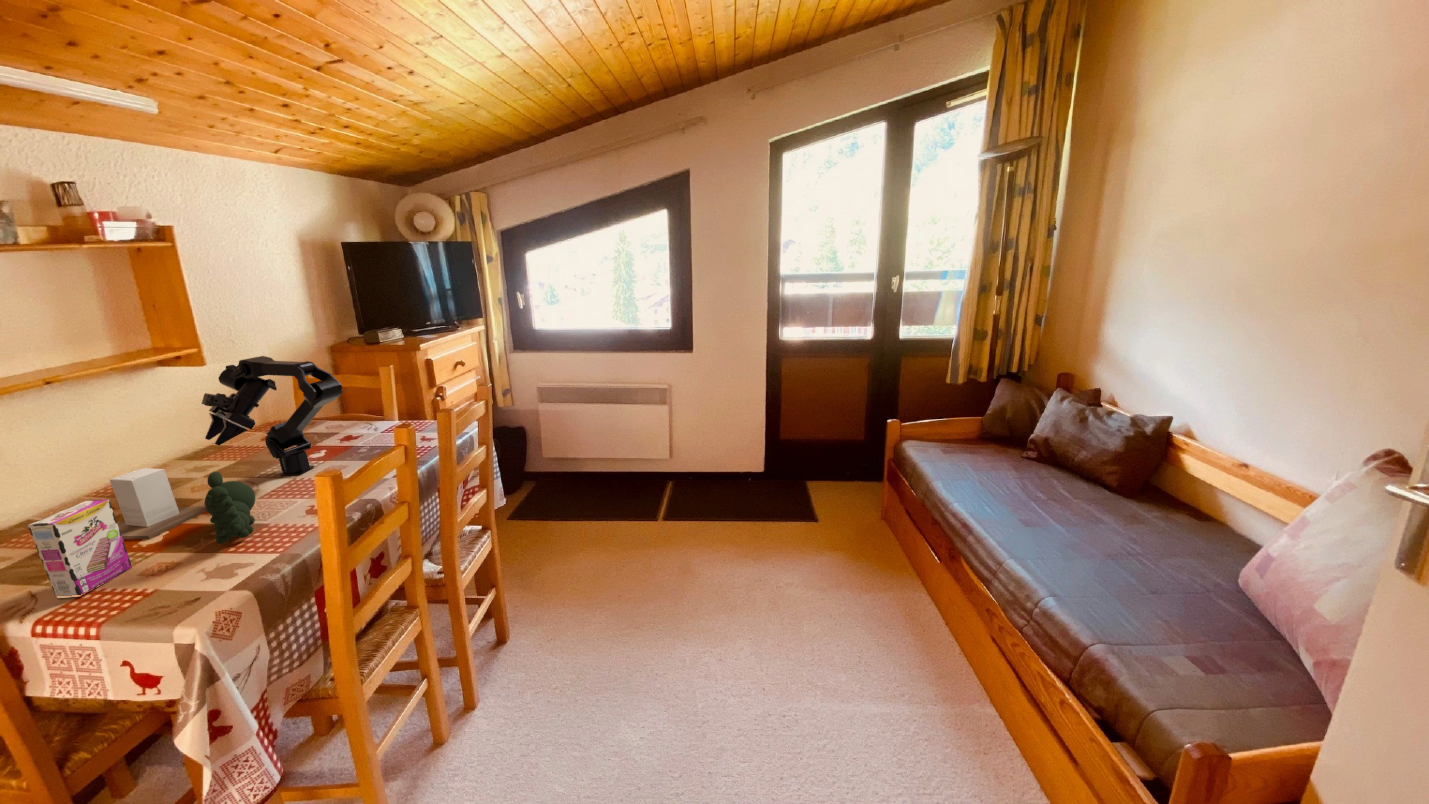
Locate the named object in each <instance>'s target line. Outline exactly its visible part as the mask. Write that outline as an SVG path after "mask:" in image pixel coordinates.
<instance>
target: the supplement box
mask: <svg viewBox="0 0 1429 804" xmlns="http://www.w3.org/2000/svg"><path fill="white" fill-rule="evenodd" d="M109 482H110V485H111V487H112V490H113V493H114V496H115V498H116V502H117V503H118V506H119V509H120V512H121V514H122V517H123V519H124V520H125V523H126V525H131V526H143V527H149V526H151V525H154V524H156V523H159V522H161V521H164V520H166V519H169V518H171V517H173V516H176V515H178V514H179V510H178V507H179V506H178V504H177V501H176V498H175V496H174V493H173V491H172V487H171V484H170V482H169V479H168V475H167V473H166V469H165V468H149V467H143V468H139V469H136V470H134V471H130V472H127V473H124V474H121V475H118V476H116V477H113V478H109ZM124 520H123V521H124Z"/></svg>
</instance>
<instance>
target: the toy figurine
mask: <svg viewBox="0 0 1429 804" xmlns="http://www.w3.org/2000/svg"><path fill="white" fill-rule="evenodd" d="M207 485H208V486H209V488H210V489H209V490H208V491H207V493H206V496H205V499H204V507H205V508H206V510H207V511H206V512H207V513H208V514H209V515H210V516H211V518H210V520H209V522H210V523H211V524H213V526H214V531H215V532H214V533H215V534H216V535H215V541H216V543H218V544H221V545H222V544H226V543H227V542H228V540H229V539H230V538H231V539H232V538H234V537H239V538H240V539H245V538H247V537H248V536H249V535H250V534H251V533H253V532H254V527H253V526H252V525H253V524H254V523H255V521H256V520H255V517H254V516H253V515H251V511H252V509H253V507H254V506H255V502H256V494H255V491H254V489H253V487H252V486H250V485H248V484H246V483H244V482H242V481H237V480H228V481H224V479H223V476H222V474H221V473H220V472H218V471H213V472H211V473H210V474H208V476H207Z"/></svg>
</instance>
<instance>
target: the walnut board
mask: <svg viewBox="0 0 1429 804" xmlns="http://www.w3.org/2000/svg"><path fill="white" fill-rule="evenodd" d="M177 507H178V510H179V514H178V515H176V516H173V517H171V518H169V519H166V520H164V521H161V522H159V523H156V524H154V525H151V526H149V527H143V526H131V525H126V523H125V520H123V521H120V522H117V524H118V527H119V531H120V533H121V536H122V538H123V539H142V541H143V539H144V540H146V539H148V540H152V539H153V538H156V537H157V536H159V535H161V534H163V533H165V532H167V531H169V530H171V529H173V528H175V527H177V526H179V525H182V524H183V523H185V522H187V521H189V520H191V519H192V518H195V517H197V516H199V515H201V514H203V513H205V512H208V511H207V510H206V508H205V506H189V507H188V506H184V507H183V506H182V507H181V506H180V507H179V506H177ZM172 527H173V528H172ZM166 530H167V531H166Z"/></svg>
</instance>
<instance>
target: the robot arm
mask: <svg viewBox="0 0 1429 804" xmlns="http://www.w3.org/2000/svg"><path fill="white" fill-rule="evenodd" d="M265 376H275V377H276V376H278V377H279V376H281V377H295V379H296V381H297V386H298V389H299V391H301V393H302V395H303V398H304V400H303V401H302V402H301V403H300V405H299V406H298V407H297V409H296V410H295V411H294V412H293V413H292V415H290V417H289V418H288V419H287V420H286V421H285V422H282V423H278V424H275V425H273V426H271V427H270V429H269V431H268V432H266V433H265V434H266V437H265V445H266V447H267V449H268V451H269V453H270V455H271V457H272V458H274V459H276V460H278V461H279V466H280V470H281V473H279V474H278V475H279V476H301V475H302V474H304V473H306V472H308V471H310V470H312V469H314V468H315V465H311V464H310V463H309V457H308V454H307V451H308V450H310V449H312V443H311V442H310V440H309V439H307V438H306V437H305V434H304V432H303V431H304V429H305V428H307V427H308V425H309V424H310V423H311V421H312V420H313V419H314V418H315V417H316V415H317V414H318V413H319V412H320V411H321V410H322V408H323V407H324V406H325V405H327V404H329V403H332V402H334V401H335V400H336V399H338V398H339V397H340V396H342V394H343V385H342V384H341V382H340V381H339V380H338V379H337V378H336V377H335V376H334V375H333V374H331V372H328V371H326V370H324V369H322V368H320V367H318V366H317V365H316V364H315V363H314V362H312V361H308V360H306V361H289V360H287V361H286V360H274V359H273V357H269V356H265V355H261V356H260V355H259V356H256V357H255V356H254V357H251V358H245V359H240V360H238V364H237V365H235V364H229V365H226V366H225V369H224V370H223V371H222V372H221V373H220V374H219V376H218V382H219V383H220V384H221V385H223V386H225V387H228V388H229V389H232V390H234V391H236V393H234V392H233V393H231V394H230V395H229V396H227V395H226V394H225V393H219V392H217V393H216V394H215V393H214V394H212V393H206V392H205V393H203V394H204V395H203V398H202V401H201V405H204V406H206V407H211V408H209V410H208V411H209V417H210V418H211V421H210V422H211V423H210V424H209V428H208V429H207V433H206V435H205V436H204V437H205V440H207V441H210V440H212V439H214V438H215V437H216V436H218V437H217V438H216V441H214V444H215V445H216V446H221V445H223V444H224V443H226V442H227V441H230V440H232V439H234V438H235V437H237V436H239V435H241V434H243V433H245V432H248V431H249V430H252V429H253V428H254V427H255V426H256V422H255V419H253V418H251V417H250V416H249V415H250V414H251V413H252V411H253V410H254V408H259V407H260V404H259V402H261V400H262V399H263V397H264V396H265V395H266V394H267V393H268V391H269V390H273V391H277V390H278V389H277V385H276V381H275V380H273V379H271V378H268V379H264V378H262V377H265ZM308 376H311V377H312V378H315V379H317V380H318V381H314V382H311V383H309V381H307V378H306V377H308Z"/></svg>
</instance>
